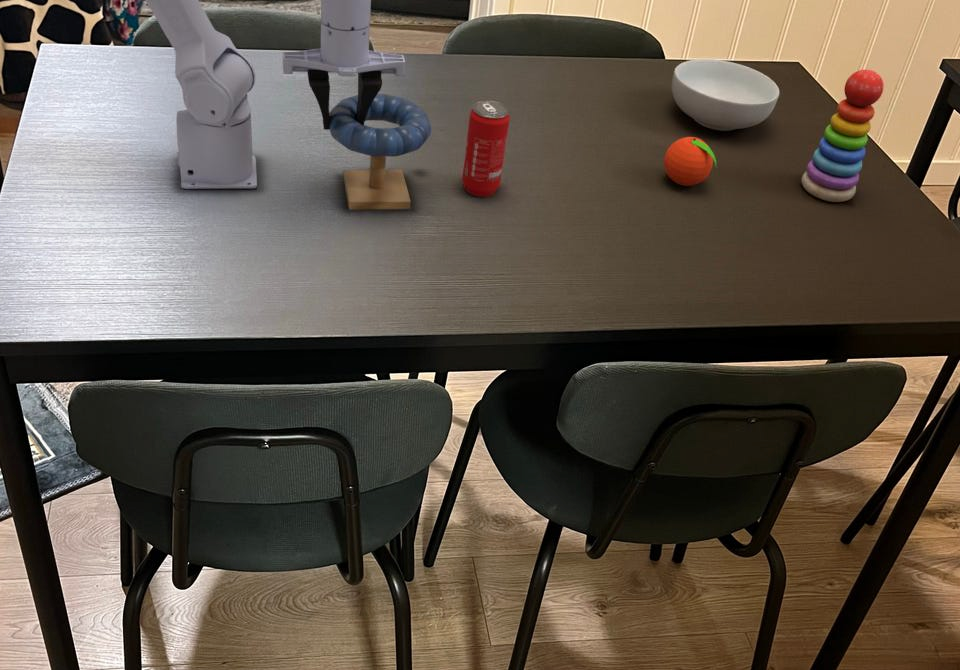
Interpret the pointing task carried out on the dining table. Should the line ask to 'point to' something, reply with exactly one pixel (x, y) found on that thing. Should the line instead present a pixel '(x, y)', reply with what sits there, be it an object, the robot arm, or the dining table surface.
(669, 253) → the dining table surface
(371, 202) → the stand
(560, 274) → the dining table surface
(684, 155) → the clementine
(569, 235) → the dining table surface
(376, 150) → the ring
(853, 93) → the stacking toy
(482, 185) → the beverage can
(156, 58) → the dining table surface
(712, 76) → the cereal bowl
